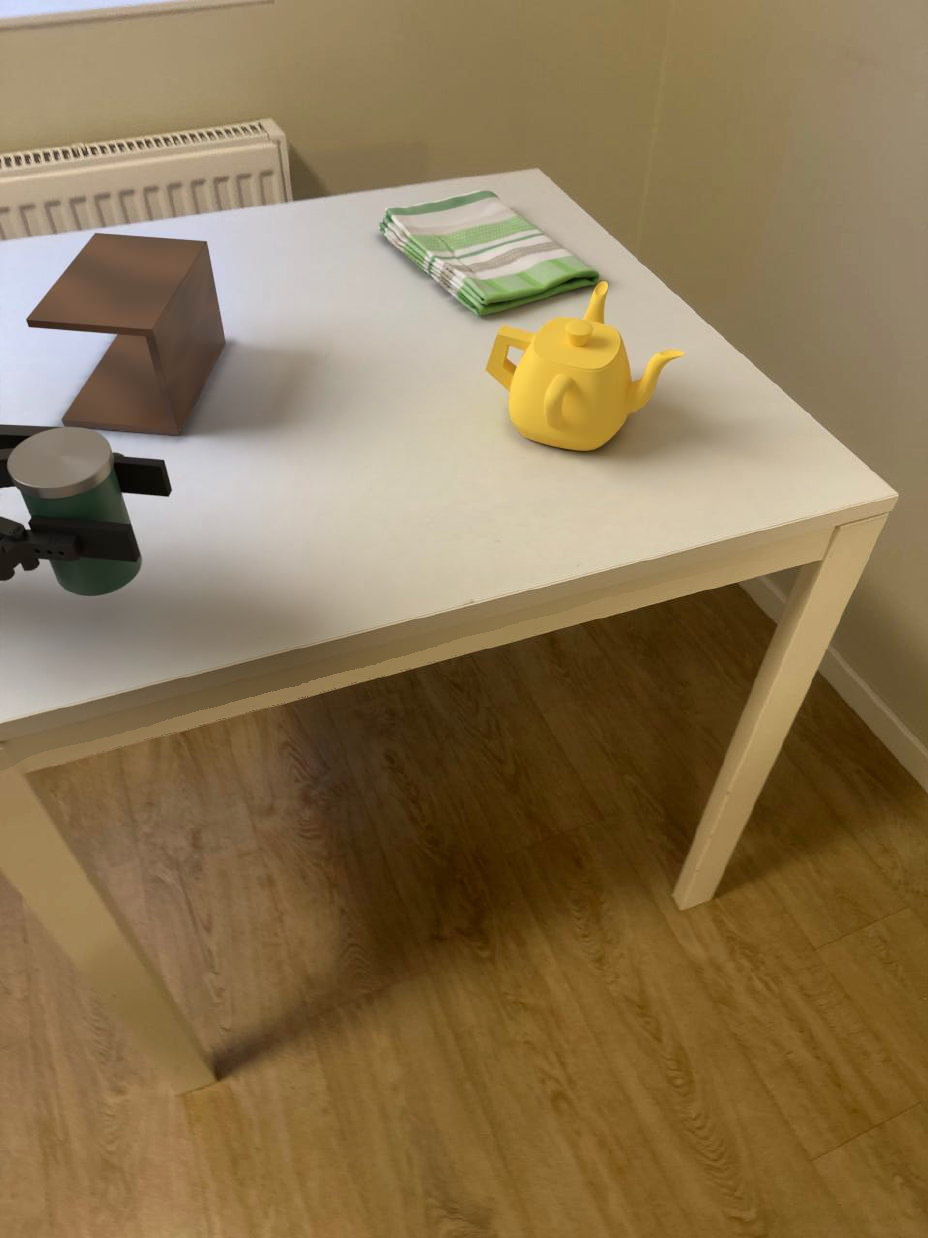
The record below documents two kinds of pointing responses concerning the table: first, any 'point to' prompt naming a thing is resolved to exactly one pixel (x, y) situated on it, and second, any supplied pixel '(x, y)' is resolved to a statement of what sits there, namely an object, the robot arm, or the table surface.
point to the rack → (139, 329)
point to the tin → (74, 498)
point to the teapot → (572, 378)
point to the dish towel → (484, 251)
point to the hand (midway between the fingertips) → (150, 509)
